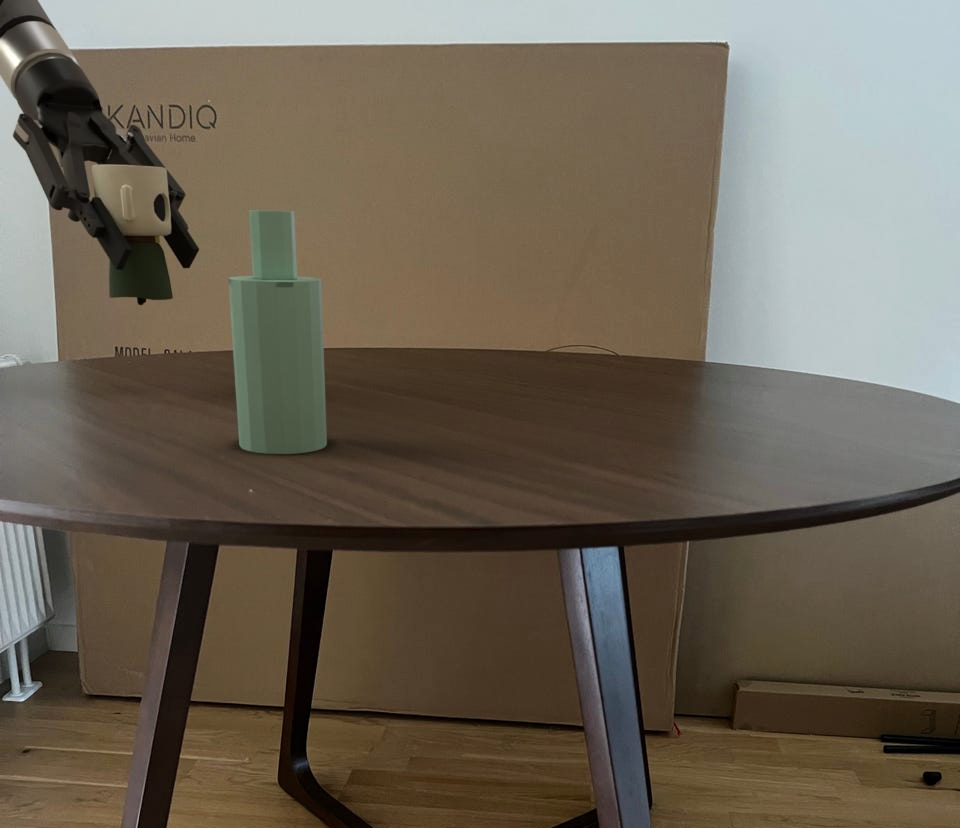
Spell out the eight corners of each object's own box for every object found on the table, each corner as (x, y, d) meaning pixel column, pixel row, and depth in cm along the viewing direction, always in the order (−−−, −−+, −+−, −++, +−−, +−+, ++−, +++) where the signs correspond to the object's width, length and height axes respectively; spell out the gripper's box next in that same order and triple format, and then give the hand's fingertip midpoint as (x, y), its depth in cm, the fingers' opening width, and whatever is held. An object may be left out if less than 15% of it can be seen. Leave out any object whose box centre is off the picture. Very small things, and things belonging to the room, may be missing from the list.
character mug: (174, 308, 102) (162, 165, 97) (99, 308, 101) (83, 162, 96) (181, 300, 112) (170, 169, 107) (112, 299, 111) (98, 167, 106)
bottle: (248, 463, 83) (232, 209, 76) (234, 445, 89) (217, 209, 82) (335, 458, 86) (328, 212, 78) (315, 441, 92) (306, 211, 85)
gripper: (122, 123, 116) (224, 283, 113) (-57, 105, 101) (54, 288, 98) (145, 66, 111) (253, 232, 108) (-39, 39, 96) (79, 230, 93)
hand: (158, 259), depth 103 cm, fingers closed on character mug, 7 cm apart
